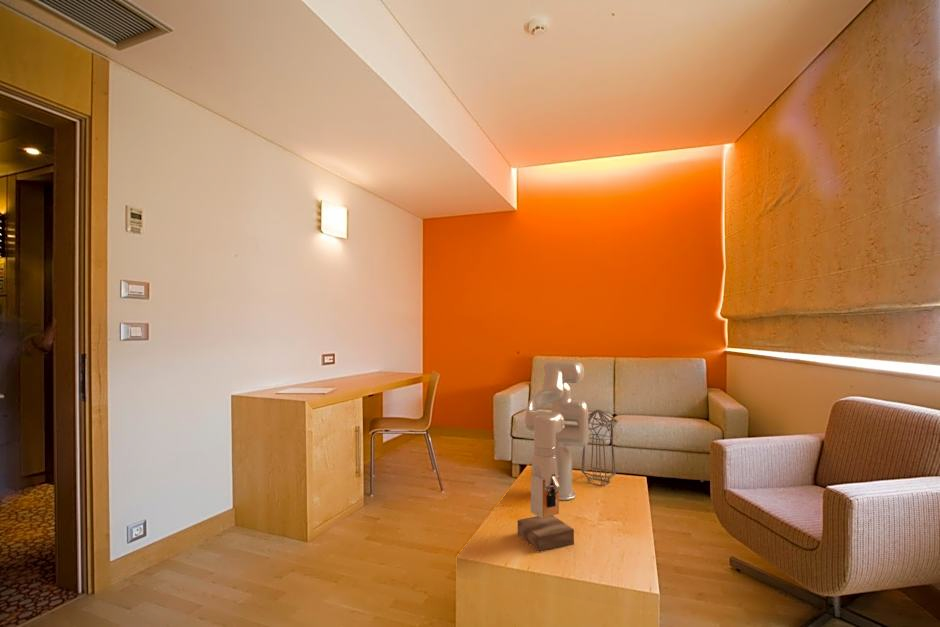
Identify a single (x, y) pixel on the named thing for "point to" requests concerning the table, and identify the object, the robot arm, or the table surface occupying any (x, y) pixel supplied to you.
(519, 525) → the walnut plinth
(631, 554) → the table surface
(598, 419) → the geometric lantern
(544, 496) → the small box
